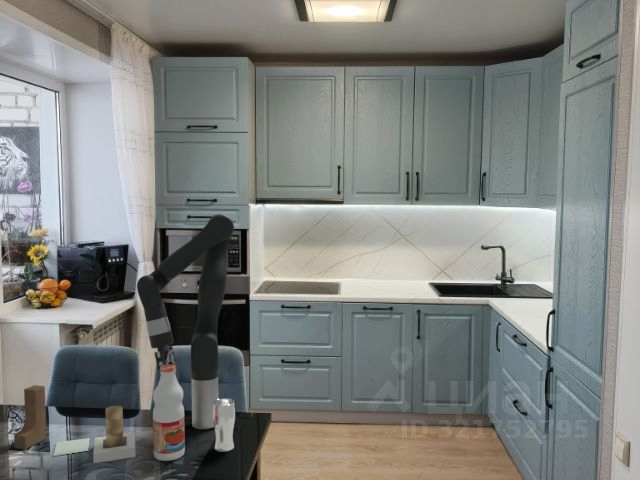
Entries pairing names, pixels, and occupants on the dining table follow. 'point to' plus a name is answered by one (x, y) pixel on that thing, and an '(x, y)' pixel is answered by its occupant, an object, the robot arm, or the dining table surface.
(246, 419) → the dining table surface
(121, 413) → the wooden peg
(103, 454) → the white square frame
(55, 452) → the sage mat
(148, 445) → the dining table surface
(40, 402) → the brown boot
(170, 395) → the fruit juice
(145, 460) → the dining table surface
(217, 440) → the beer glass
